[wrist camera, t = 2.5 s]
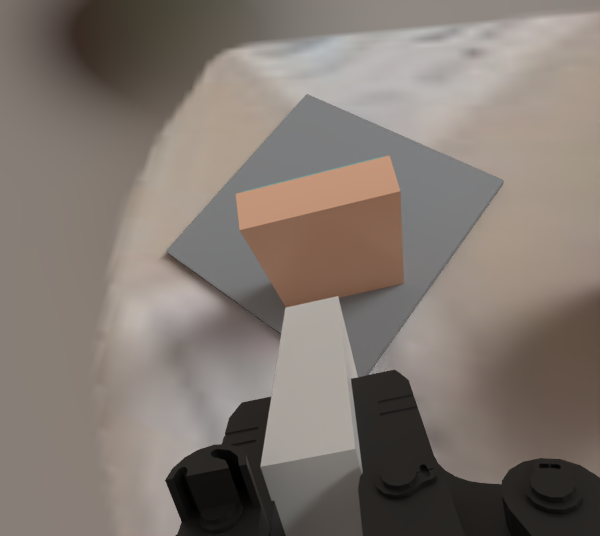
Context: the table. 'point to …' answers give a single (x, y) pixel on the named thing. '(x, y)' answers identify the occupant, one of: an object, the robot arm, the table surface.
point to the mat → (324, 156)
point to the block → (327, 231)
